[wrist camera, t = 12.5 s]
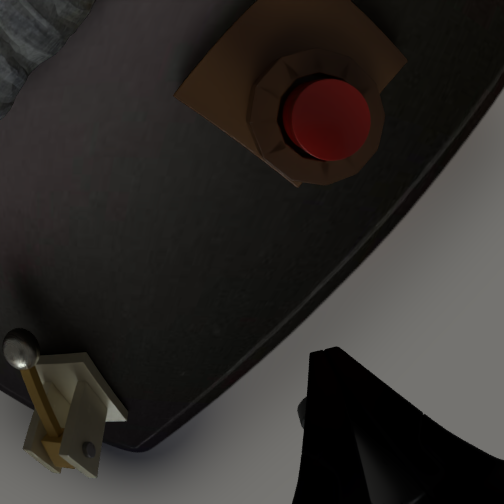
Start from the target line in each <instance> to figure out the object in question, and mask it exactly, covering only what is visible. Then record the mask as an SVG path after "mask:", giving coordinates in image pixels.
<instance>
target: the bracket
mask: <svg viewBox="0 0 504 504" xmlns="http://www.w3.org/2000/svg"><path fill="white" fill-rule="evenodd" d="M35 366H36V369H37V372H38V374H39V377H40V380H41V382H42V385H43V388H44V390H45V393H46V395H47V397H48V400H49V402H50V404H51V407H52V409H53V411H54V414H55V416H56V418H57V420H58V422H59V424H60V426H61V428H64V432H63V437H62V441H61V445H60V450H59V455H60V456H61V457H62V458H63V459H65V460H66V461H67V462H68V463H70V464H71V465H72V466H73V467H75V468H76V469H78V470H79V471H80V472H81V473H83V474H84V475H86V476H87V477H91V478H97V474H98V467H99V459H100V452H101V446H102V439H103V433H104V427H105V421H127V417H128V411H127V409H126V408H125V407H124V406H123V404H122V403H121V402H120V400H119V399H118V398H117V396H116V395H115V393H114V392H113V391H112V389H111V388H110V386H109V385H108V384H107V382H106V381H105V379H104V378H103V376H102V375H101V374H100V372H99V371H98V369H97V368H96V366H95V365H94V363H93V361H92V360H91V358H90V357H89V355H88V354H87V352H82V353H70V354H56V355H40V357H39V360H38V362H37V363H36V365H35ZM46 434H47V432H46V430H45V428H44V426H43V423H42V421H41V419H40V417H39V415H38V413H37V411H36V408H35V410H34V413H33V416H32V419H31V422H30V425H29V429H28V432H27V436H26V439H25V442H24V446H23V450H24V451H26V452H27V453H28V454H29V455H31V456H32V457H33V458H34V459H35V460H37V461H38V462H39V463H41V464H42V465H43V466H45V467H46V468H47V469H49V470H50V471H51V472H53V473H61V468H62V467H57V466H55V465H54V464H53V462H52V460H51V459H50V457H49V455H48V453H47V451H46V450H45V448H44V446H43V444H42V442H41V440H42V439H43V437H44V436H45V435H46Z"/></svg>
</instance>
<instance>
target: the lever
mask: <svg viewBox="0 0 504 504" xmlns="http://www.w3.org/2000/svg"><path fill="white" fill-rule="evenodd" d="M3 353H4V356H5V358H6V360H7V361H8V363H9V364H10V365H12V366H13V367H14V368H16V369H19V370H20V371H21V374H22V377H23V379H24V382H25V384H26V387H27V390H28V392H29V394H30V397H31V399H32V401H33V404H34V406H35V408H36V411H37V413H38V415H39V417H40V419H41V421H42V423H43V426H44V428H45V430H46V432H47V434H46V435H45V436H44V437H43V439H42V440H41V442H42V444H43V446H44V448H45V450H46V451H47V453H48V455H49V457H50V459H51V460H52V462H53V464H54V465H55V466H57V467H64V468H71V469H75V467H73V466H72V465H71V464H70V463H68V462H67V461H66V460H65V459H63V458H62V457H61V456H60V455H59V450H60V445H61V441H62V437H63V432H64V428H61V426H60V424H59V422H58V420H57V418H56V416H55V414H54V411H53V409H52V407H51V404H50V402H49V400H48V397H47V395H46V393H45V390H44V388H43V385H42V382H41V380H40V377H39V374H38V372H37V369H36V366H35V365H36V363H37V362H38V360H39V357H40V346H39V343H38V340H37V339H36V337H35V336H34V335H33V334H32V333H31V332H30V331H28V330H26V329H24V328H15V329H12V330H11V331H9V332H8V333H7V334H6V336H5V338H4V340H3Z"/></svg>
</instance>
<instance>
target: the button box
mask: <svg viewBox="0 0 504 504" xmlns="http://www.w3.org/2000/svg"><path fill="white" fill-rule="evenodd" d="M407 61H408V60H407V59H406V58H405V56H404V55H403V54H402V53H401V52H400V51H399V50H398V48H397V47H396V46H395V45H394V44H393V43H392V42H391V41H390V39H389V38H388V37H387V36H386V35H385V34H384V33H383V32H382V31H381V30H380V29H379V28H378V27H377V26H376V25H375V24H374V23H373V22H372V21H371V20H370V19H369V18H368V17H367V16H366V15H365V14H364V13H363V12H362V11H361V10H360V9H359V8H358V7H357V6H356V5H355V4H354V3H353V2H352V1H350V0H256V1H255V2H254V3H253V4H252V5H251V6H250V7H249V8H248V9H247V10H246V11H245V12H244V13H243V14H242V15H241V16H240V17H239V19H238V20H237V21H236V22H235V23H234V24H233V25H232V26H231V27H230V28H229V29H228V30H227V31H226V32H225V33H224V34H223V36H222V37H221V38H220V39H219V40H218V41H217V42H216V43H215V45H214V46H213V47H212V48H211V49H210V50H209V51H208V53H207V54H206V55H205V56H204V57H203V58H202V60H201V61H200V62H199V63H198V64H197V66H196V67H195V68H194V69H193V70H192V72H191V73H190V74H189V75H188V77H187V78H186V79H185V80H184V82H183V83H182V84H181V86H180V87H179V88H178V89H177V91H176V92H175V93H174V95H173V96H174V97H175V98H176V99H178V100H179V101H181V102H182V103H184V104H185V105H187V106H188V107H190V108H191V109H193V110H194V111H195V112H197V113H198V114H200V115H201V116H203V117H204V118H205V119H207V120H208V121H210V122H211V123H213V124H214V125H215V126H217V127H218V128H220V129H221V130H222V131H224V132H225V133H226V134H228V135H229V136H231V137H232V138H233V139H235V140H236V141H237V142H239V143H240V144H241V145H243V146H244V147H245V148H247V149H248V150H249V151H251V152H252V153H253V154H255V155H256V156H257V157H259V158H260V159H261V160H263V161H264V162H265V163H266V164H268V165H269V166H270V167H272V168H273V169H274V170H275V171H277V172H278V173H279V174H280V175H282V176H283V177H284V178H286V179H287V180H288V181H289V182H291V183H292V184H293V185H294V186H296V187H297V188H298V187H299V186H300V185H301V184H302V183H303V182H305V183H311V184H318V185H329V184H331V183H334V182H336V181H339V180H342V179H344V178H347V177H350V176H352V175H355V174H357V173H358V172H359V171H360V170H361V168H362V167H363V166H364V165H365V164H366V163H367V161H368V160H369V159H370V158H371V157H372V156H373V154H374V153H375V152H376V151H377V150H378V147H379V142H380V138H381V134H382V129H383V124H384V120H385V113H384V109H383V105H382V101H381V98H380V92H381V91H382V90H383V89H384V88H385V87H386V86H387V84H388V83H389V82H390V81H391V80H392V79H393V78H394V76H395V75H396V74H397V73H398V72H399V71H400V70H401V68H402V67H403V66H404V65H405V64H406V63H407ZM319 79H338V80H342V81H344V82H347V83H349V84H351V85H352V86H353V87H355V88H356V89H357V90H358V91H359V92H360V93H361V94H362V96H363V97H364V99H365V100H366V102H367V104H368V107H369V111H370V117H371V125H370V130H369V134H368V136H367V139H366V141H365V142H364V144H363V145H362V147H361V148H360V149H359V150H358V151H357V152H355V153H354V154H353V155H351V156H349V157H347V158H345V159H342V160H337V161H327V160H322V159H318V158H316V157H314V156H312V155H310V154H309V153H307V152H306V151H304V150H303V149H301V148H300V147H298V146H297V145H296V144H295V143H293V142H292V140H291V139H290V138H289V136H288V135H287V133H286V131H285V128H284V125H283V117H282V114H283V107H284V104H285V101H286V99H287V97H288V95H289V94H290V93H291V92H292V91H293V90H294V89H295V88H296V87H297V86H298V85H300V84H302V83H304V82H307V81H310V80H319Z"/></svg>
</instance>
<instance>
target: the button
mask: <svg viewBox="0 0 504 504" xmlns="http://www.w3.org/2000/svg"><path fill="white" fill-rule="evenodd" d="M282 117H283V125H284V128H285V131H286V133H287V135H288V136H289V138H290V139H291V140H292V142H293V143H295V144H296V145H297V146H298V147H300V148H301V149H303V150H304V151H306V152H307V153H309V154H310V155H312V156H314V157H316V158H318V159H322V160H327V161H337V160H342V159H345V158H347V157H349V156H351V155H353V154H354V153H355V152H357V151H358V150H359V149H360V148H361V147H362V145H363V144H364V142H365V141H366V139H367V136H368V134H369V130H370V125H371V117H370V111H369V107H368V104H367V102H366V100H365V99H364V97H363V96H362V94H361V93H360V92H359V91H358V90H357V89H356V88H355V87H353V86H352V85H351V84H349V83H347V82H344V81H342V80H338V79H319V80H310V81H307V82H304V83H302V84H300V85H298V86H297V87H296V88H295V89H294V90H293V91H292V92H291V93H290V94H289V95H288V97H287V99H286V101H285V104H284V107H283V114H282Z"/></svg>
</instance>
